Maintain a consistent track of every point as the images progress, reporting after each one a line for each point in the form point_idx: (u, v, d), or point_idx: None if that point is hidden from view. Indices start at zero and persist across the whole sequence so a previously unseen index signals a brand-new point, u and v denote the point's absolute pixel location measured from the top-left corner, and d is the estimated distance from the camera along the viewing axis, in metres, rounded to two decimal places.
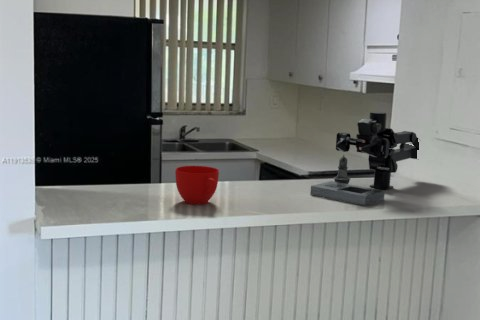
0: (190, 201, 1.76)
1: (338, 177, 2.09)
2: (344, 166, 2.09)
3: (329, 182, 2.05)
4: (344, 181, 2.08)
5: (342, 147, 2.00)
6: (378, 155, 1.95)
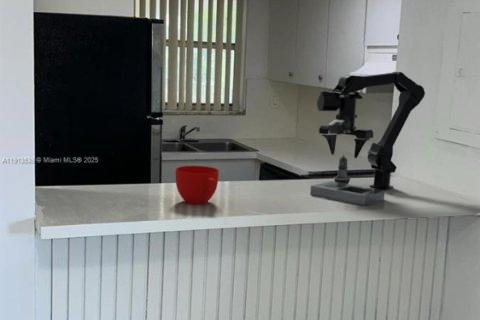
0: (190, 201, 1.76)
1: (338, 177, 2.09)
2: (344, 166, 2.09)
3: (329, 182, 2.05)
4: (344, 181, 2.08)
5: (334, 143, 2.13)
6: (367, 139, 2.06)
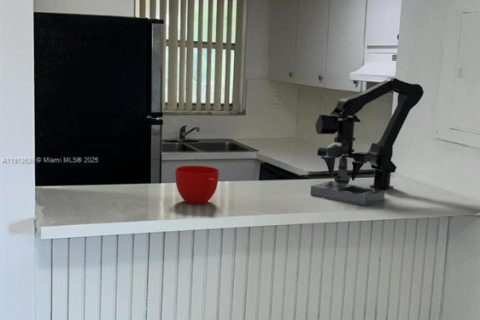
0: (190, 201, 1.76)
1: (338, 177, 2.09)
2: (344, 166, 2.09)
3: (329, 182, 2.05)
4: (344, 181, 2.08)
5: (333, 165, 2.14)
6: (364, 162, 2.07)
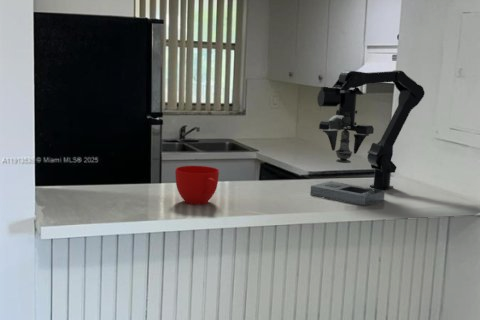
0: (190, 201, 1.76)
1: (341, 150, 2.08)
2: (347, 139, 2.07)
3: (329, 182, 2.05)
4: (348, 154, 2.07)
5: (335, 139, 2.12)
6: (366, 135, 2.06)
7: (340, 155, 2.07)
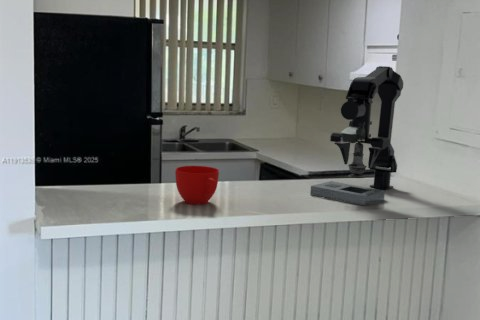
0: (190, 201, 1.76)
1: (354, 165, 1.91)
2: (361, 152, 1.91)
3: (329, 182, 2.05)
4: (361, 169, 1.91)
5: (348, 152, 1.96)
6: (382, 148, 1.89)
7: (353, 170, 1.91)
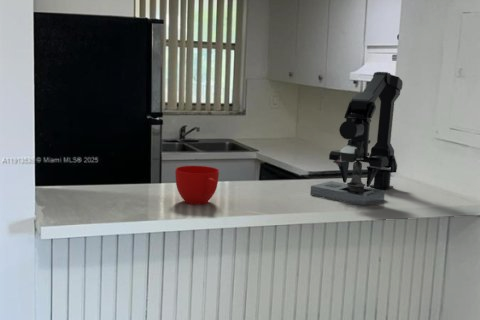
0: (190, 201, 1.76)
1: (353, 183, 1.92)
2: (359, 171, 1.92)
3: (329, 182, 2.05)
4: (360, 187, 1.92)
5: (346, 170, 1.97)
6: (380, 167, 1.90)
7: (352, 188, 1.92)
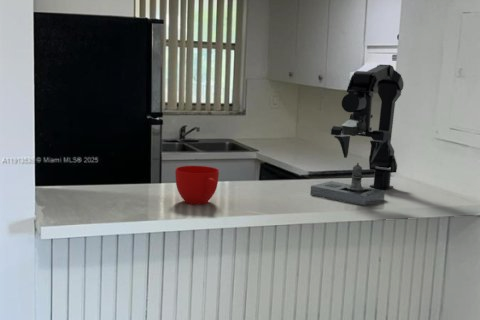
0: (190, 201, 1.76)
1: None
2: None
3: (329, 182, 2.05)
4: None
5: (347, 145, 1.96)
6: (384, 141, 1.89)
7: None
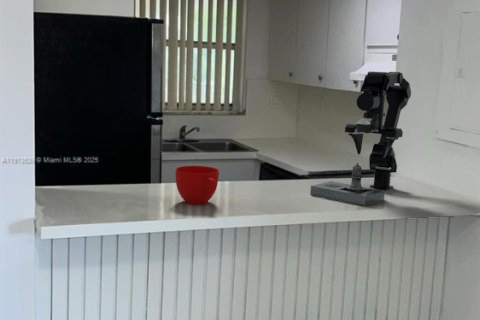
0: (190, 201, 1.76)
1: None
2: (352, 174, 1.94)
3: (329, 182, 2.05)
4: (347, 189, 1.95)
5: (360, 142, 2.05)
6: None
7: None
